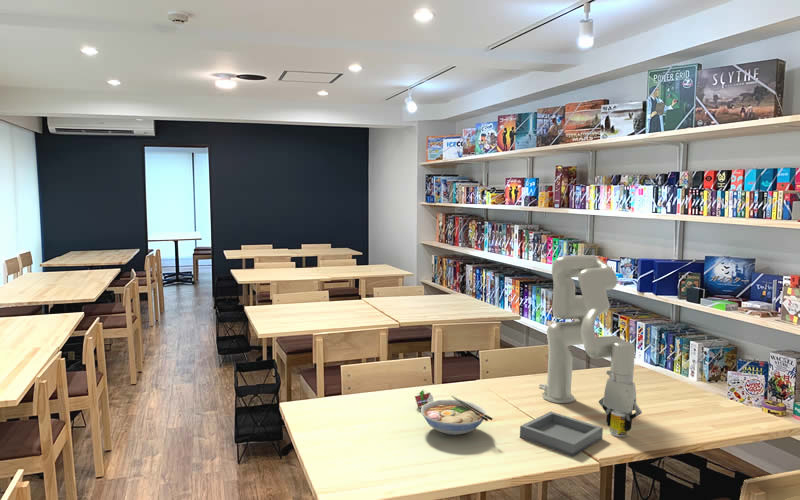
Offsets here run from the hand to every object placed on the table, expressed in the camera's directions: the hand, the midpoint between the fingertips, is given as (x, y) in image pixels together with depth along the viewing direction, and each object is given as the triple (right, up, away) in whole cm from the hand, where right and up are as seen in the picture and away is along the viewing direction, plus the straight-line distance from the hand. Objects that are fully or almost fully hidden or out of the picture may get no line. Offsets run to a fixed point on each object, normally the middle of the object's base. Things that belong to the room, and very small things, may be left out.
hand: (618, 427), depth 203 cm
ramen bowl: (-58, -2, 0) cm, 58 cm away
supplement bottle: (0, -3, 0) cm, 3 cm away
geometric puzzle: (-67, +1, +22) cm, 71 cm away
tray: (-21, -3, -4) cm, 22 cm away
